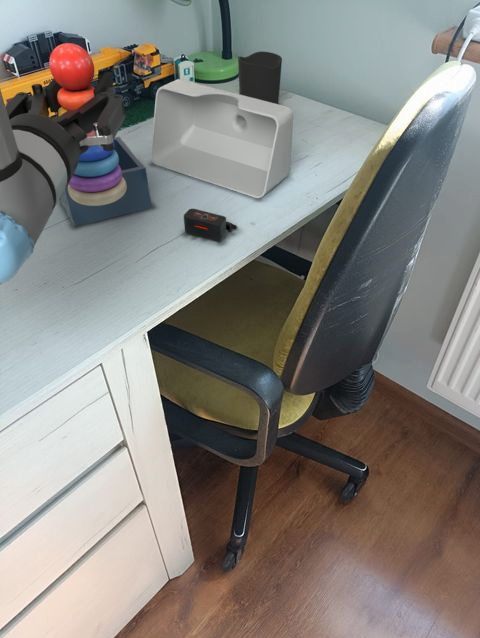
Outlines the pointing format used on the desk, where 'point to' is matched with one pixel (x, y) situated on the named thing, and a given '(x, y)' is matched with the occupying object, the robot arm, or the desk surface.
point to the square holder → (128, 203)
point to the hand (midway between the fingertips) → (87, 83)
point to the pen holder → (260, 76)
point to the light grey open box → (222, 137)
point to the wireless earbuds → (207, 225)
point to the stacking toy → (95, 164)
